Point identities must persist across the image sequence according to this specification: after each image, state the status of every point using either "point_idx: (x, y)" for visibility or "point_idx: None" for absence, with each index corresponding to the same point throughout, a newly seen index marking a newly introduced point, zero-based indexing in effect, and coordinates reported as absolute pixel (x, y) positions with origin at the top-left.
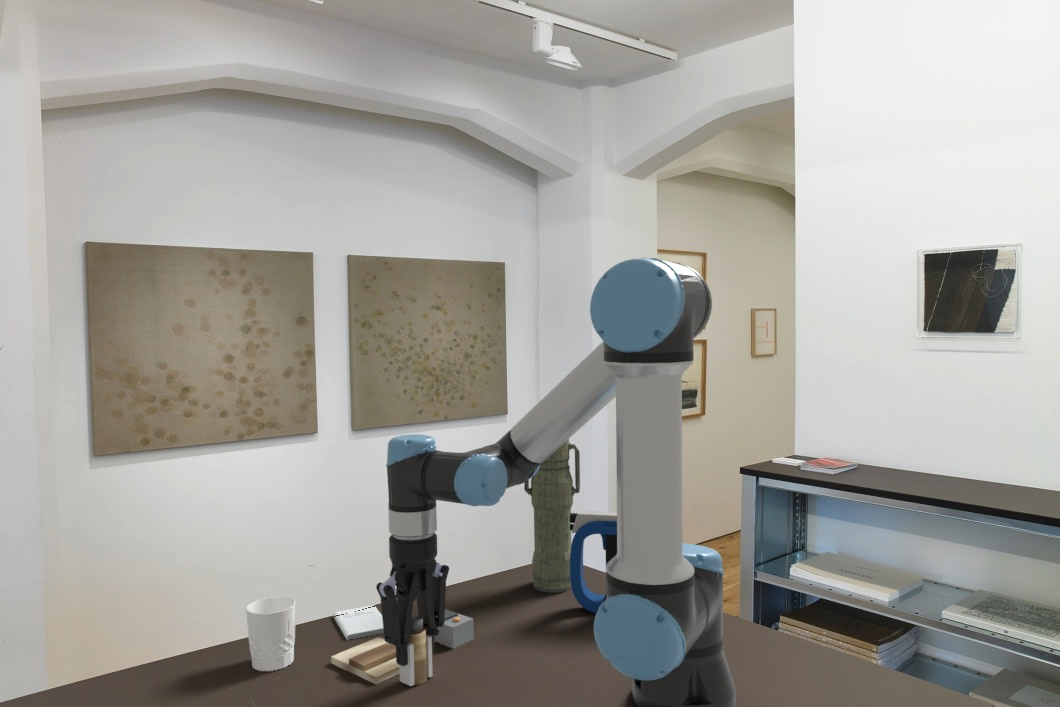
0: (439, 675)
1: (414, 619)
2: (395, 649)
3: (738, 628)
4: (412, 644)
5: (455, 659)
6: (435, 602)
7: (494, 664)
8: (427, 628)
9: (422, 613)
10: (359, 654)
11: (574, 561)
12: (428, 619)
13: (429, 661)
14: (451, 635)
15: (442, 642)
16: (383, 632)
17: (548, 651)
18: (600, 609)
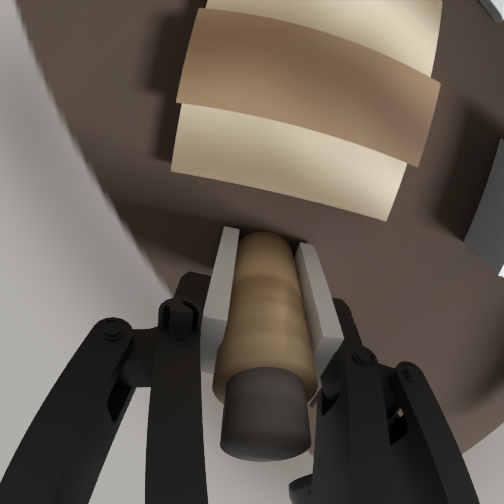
0: None
1: (254, 447)
2: (363, 126)
3: (473, 442)
4: (209, 372)
5: (411, 279)
6: (403, 479)
7: (397, 355)
8: (329, 393)
9: (331, 452)
10: (254, 16)
11: None
12: (315, 448)
13: None
14: (487, 253)
15: (484, 203)
16: (482, 1)
17: (447, 384)
18: None
